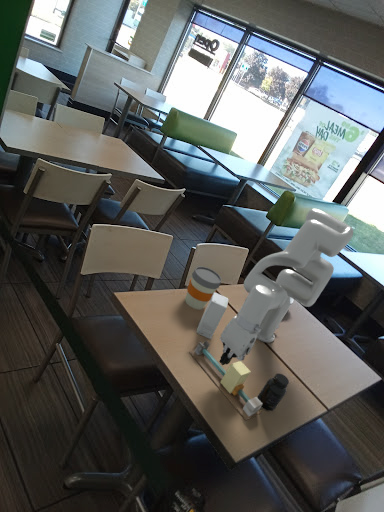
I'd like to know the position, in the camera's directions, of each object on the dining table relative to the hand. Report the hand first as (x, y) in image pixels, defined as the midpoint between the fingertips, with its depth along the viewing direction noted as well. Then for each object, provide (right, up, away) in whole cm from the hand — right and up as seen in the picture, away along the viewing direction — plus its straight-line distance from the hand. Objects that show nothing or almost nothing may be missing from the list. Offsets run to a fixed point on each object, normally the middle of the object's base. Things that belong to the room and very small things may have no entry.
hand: (223, 362), depth 129 cm
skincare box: (-6, +6, +23) cm, 25 cm away
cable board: (0, -7, +2) cm, 7 cm away
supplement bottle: (+14, -14, +1) cm, 20 cm away
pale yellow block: (+2, -8, +1) cm, 9 cm away
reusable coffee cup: (-9, +15, +38) cm, 42 cm away
